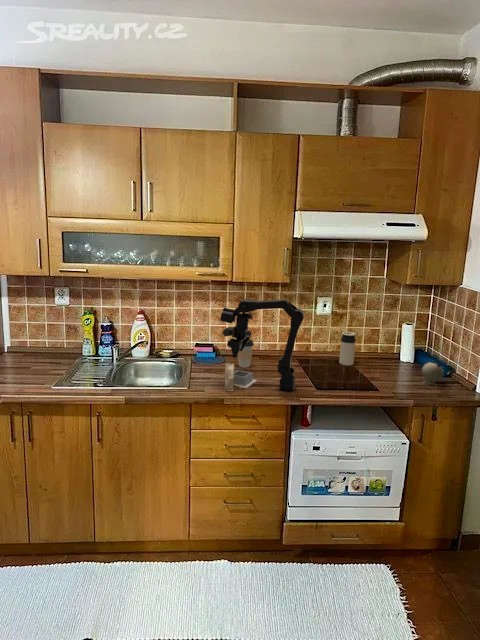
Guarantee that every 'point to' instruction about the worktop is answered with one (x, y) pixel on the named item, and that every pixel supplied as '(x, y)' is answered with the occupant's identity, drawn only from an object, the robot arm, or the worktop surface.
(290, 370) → the robot arm
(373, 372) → the worktop surface
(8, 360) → the worktop surface
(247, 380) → the socket
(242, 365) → the coffee cup
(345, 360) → the travel mug
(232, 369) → the peg
